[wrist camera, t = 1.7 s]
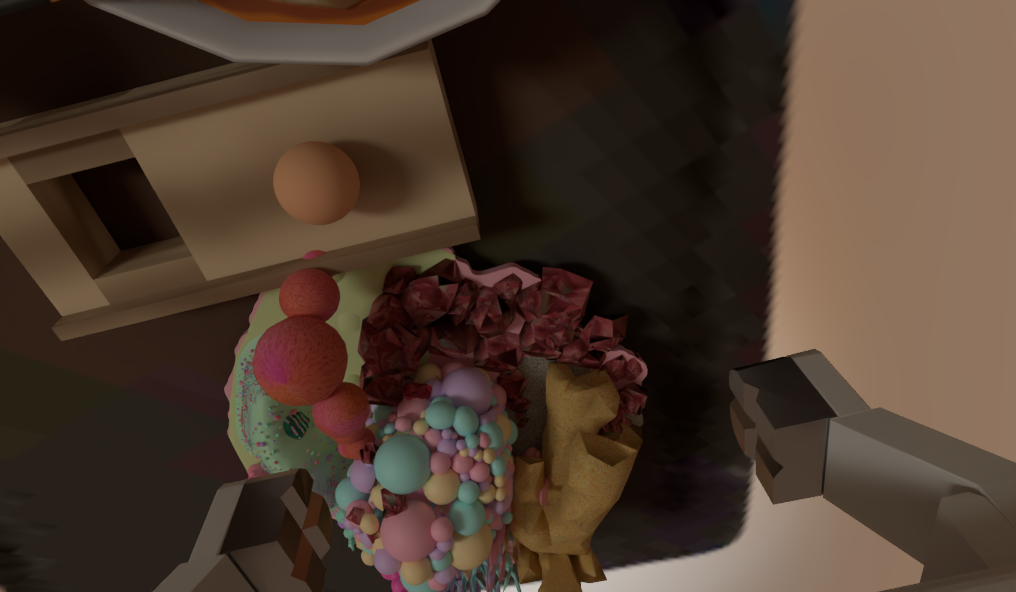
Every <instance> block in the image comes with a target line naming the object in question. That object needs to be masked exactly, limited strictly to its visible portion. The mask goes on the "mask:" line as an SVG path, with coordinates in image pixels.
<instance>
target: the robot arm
mask: <svg viewBox="0 0 1016 592" xmlns="http://www.w3.org/2000/svg"><path fill="white" fill-rule="evenodd" d="M729 387H730V388H731V390H732V392H733V393H734V395H735V398H734V400H733V401H732V402H731V404H730V413H731V421H732V425H733V429H734V433H735V435H736V438H737V440H738V442H739V445H740V446H741V448H742V450H743V452H744V454H745V455H746V456H748V457H750V458H752V459H754V460H755V461H756V475H757V477H758V479H759V480H760V482H761V484H762V486H763V487H764V489H765V491H766V493H767V494H768V496H769V498H770V500H771V501H772V503H773V504H778V503H784V502H789V501H794V500H799V499H804V498H810V497H815V496H821V495H823V498H825V499H826V500H828V501H829V502H831V503H832V504H834V505H835V506H837V507H838V508H840V509H841V510H843V511H844V512H846V513H847V514H849V515H850V516H852V517H853V518H855V519H856V520H858V521H859V522H861V523H862V524H864V525H865V526H867V527H868V528H870V529H871V530H873V531H874V532H876V533H877V534H879V535H880V536H882V537H883V538H885V539H886V540H888V541H889V542H891V543H892V544H894V545H895V546H897V547H898V548H899V549H901V550H902V551H904V552H906V553H907V554H909V555H910V556H911V557H913V558H915V559H916V560H917V561H919V562H920V563H922V564H923V565H924V568H923V572H922V576H921V580H920V583H918V584H913V585H908V586H903V587H899V588H894V589H889V590H885V591H880V592H1016V463H1015V462H1012V461H1010V460H1007V459H1005V458H1002V457H1000V456H997V455H995V454H993V453H990V452H988V451H985V450H983V449H980V448H978V447H975V446H973V445H970V444H968V443H966V442H963V441H961V440H958V439H956V438H953V437H951V436H948V435H946V434H944V433H941V432H939V431H936V430H934V429H931V428H929V427H926V426H924V425H921V424H919V423H917V422H914V421H912V420H909V419H907V418H904V417H902V416H900V415H897V414H895V413H892V412H890V411H887V410H885V409H882V408H876V409H870V407H869V406H868V405H867V404H866V403H865V402H864V400H863V399H862V398H861V397H860V396H859V395H858V394H857V393H856V391H855V390H854V389H853V388H852V387H851V386H850V385H849V384H848V383H847V381H846V380H845V379H844V378H843V377H842V376H841V374H840V373H839V372H838V371H837V370H836V369H835V368H834V367H833V365H832V364H831V363H830V362H829V361H828V360H827V359H826V358H825V356H824V355H823V354H822V353H821V352H820V351H818V350H816V349H812V350H808V351H804V352H800V353H796V354H792V355H788V356H786V357H780V358H776V359H772V360H768V361H764V362H759V363H755V364H751V365H747V366H743V367H738V368H734V369H731V371H730V374H729ZM313 483H314V480H313V478H312V477H311V475H310V474H309V472H308V471H307V469H303V468H298V469H293V470H288V471H283V472H278V473H273V474H268V475H263V476H258V477H254V478H250V479H247V480H242V481H237V482H232V483H227V484H224V485H223V486H221V487H220V488H219V489H218V490H217V492H216V495H215V497H214V500H213V502H212V505H211V507H210V510H209V512H208V515H207V517H206V520H205V522H204V524H203V527H202V529H201V532H200V534H199V537H198V539H197V542H196V544H195V547H194V549H193V552H192V554H191V557H190V559H189V562H187V563H183V564H180V565H179V566H178V567H177V568H176V569H175V570H174V571H173V572H172V573H171V574H170V575H169V576H168V577H167V578H166V579H165V580H164V581H163V582H162V583H161V584H160V585H159V586H158V587H157V588H156V589H155V590H154V591H153V592H322V591H323V585H324V580H325V575H326V568H325V566H324V564H323V563H322V561H321V559H322V557H323V556H324V555H325V553H326V552H327V551H328V550H329V548H330V547H331V541H332V535H333V529H332V516H331V513H330V510H329V506H328V504H327V502H326V501H325V499H324V497H323V496H321V495H319V494H317V493H315V492H313V491H312V487H313Z"/></svg>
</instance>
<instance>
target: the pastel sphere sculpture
mask: <svg viewBox="0 0 1016 592" xmlns="http://www.w3.org/2000/svg"><path fill="white" fill-rule="evenodd" d="M324 253H325V251H321V250H313V251H310V252H308V253H306V254H305V255H304V256H303V257H302V258H304V259H311V258H315V257H318V256H320V255H323V254H324ZM592 284H593V281H591V280H588V279H586V278H583V277H581V276H578V275H575V274H573V273H570V272H568V271H565V270H563V269H558V268H549V267H543V268H542V270H541V272H540V275H538V274H536V273H533V272H531V271H530V270H528V269H526V268H523V267H521V266H519V265H518V264H516V263H507V264H503V265H500V266H497V267H494V268H491V269H487V270H482V271H475V270H473V269H472V268H471V267H470V264H469V262H468V261H467V260H466V259H463V258H460V257H458V256H457V255H456V252H455V251H454V250H453V248H452V247H447V248H443V249H438V250H434V251H430V252H426V253H422V254H418V255H414V256H410V257H406V258H401V259H397V260H393V261H389V262H385V263H381V264H377V265H373V266H368V267H364V268H360V269H356V270H352V271H348V272H344V273H340V274H335V275H331V276H330V275H328V274H327V273H326V272H324V271H321V270H318V269H315V268H308V269H301V270H298V271H297V272H295V273H293V274H291V275H289V276H288V277H287V278H286V279H285V281H284V282H283V283H282V285H281V288H278V289H274V290H270V291H265V292H261V293H260V295H259V298H258V300H257V302H256V303H255V305H254V308H253V311H252V313H251V314H250V316H249V322H250V327H249V329H248V330H247V331H245V333H244V334H243V335H242V337H241V338H240V340H239V343H238V345H237V346H236V348H235V355H236V360H235V366H234V367H233V371H232V373H231V375H230V377H229V379H228V383H227V384H226V386H225V388H224V391H225V394H226V396H227V398H228V400H229V402H230V410H229V412H228V417H229V428H228V430H227V433H228V436H229V438H230V440H231V442H232V444H233V446H234V448H235V450H236V452H237V454H238V456H239V458H240V459H241V461H242V463H243V465H244V467H245V468H246V470H247V472H248V475H249V477H248V479H250V478H254V477H258V476H263V475H268V474H273V473H278V472H283V471H288V470H293V469H298V468H303V469H307V471H308V472H309V474H310V475H311V477H312V478H313V480H314V483H313V487H312V491H313V492H315V493H317V494H319V495H321V496H323V497H324V499H325V501H326V502H327V504H328V506H329V510H330V513H331V516H332V518H333V519H336V520H337V521H338V525H339V526H340V527H341V528H343V529H345V530H344V536H345V537H346V538H349V544H348V546H349V547H351V549H352V551H353V550H354V547H353V546H354V544H357V547H358V548H359V549H362V550H363V551H362V553H361V558H362V561H363V562H364V563H365V564H366V565H375V567H376V569H377V570H378V571H379V572H380V573H381V575H382V576H383V577H384V578H385V579H387V580H392V583H391V587H392V591H393V592H448V591H449V590H450V592H453V590H454V587H455V585H456V586H457V592H466V591H465V589H466V584H467V581H468V580H469V586H470V592H481V590H480V586H481V587H482V588H483V589H485V587H484V586H483V584H482V582H481V581H480V580H479V577H478V576H477V577H476V574H477V573H479V572H481V573H482V577H483V579H485V582H486V589H485V590H486V591H487V592H500V586H499V583H500V582H502V581H503V580H504V576H505V569H506V570H507V571H508V573H507V576H506V578H505V583H504V589H503V592H504V590H505V588H506V586H507V584H508V582H509V579H510V575H511V576H512V577H513V578H514V580H515V583H516V587H517V591H518V592H521V589H520V585H519V581H518V578H517V575H518V577H519V579H520V584H523V583H528V582H534V581H539V580H542V579H543V581H542V584H541V586H540V588H539V590H538V592H582V589H581V582H586V583H593V582H599V581H604V580H607V579H606V577H605V574H604V572H603V570H602V568H601V565H600V563H599V561H598V560H597V558H596V556H595V554H594V552H593V551H592V549H591V547H590V542H591V537H592V535H593V533H594V531H595V529H596V528H597V526H598V525H599V524H600V522H601V521H602V520H603V518H604V517H605V516H606V514H607V513H608V512H609V511H610V509H611V508H612V507H613V505H614V504H615V503H616V502H617V501H618V500H619V498H620V496H621V493H622V491H623V489H624V486H625V484H626V481H627V479H628V477H629V474H630V472H631V470H632V467H633V464H634V461H635V458H636V456H637V454H638V452H639V450H640V447H641V445H642V443H643V435H642V427H641V426H642V424H643V416H642V409H644V407H645V403H646V399H647V391H648V390H647V389H646V388H644V387H642V386H641V384H642V381H643V379H644V378H645V377H646V376H647V366H646V364H645V363H644V361H643V359H642V358H641V356H640V355H639V354H638V352H637V353H633V352H632V351H630V350H628V349H626V348H624V347H623V346H621V345H617V344H618V343H620V342H621V341H622V340H623V339H624V338H625V333H626V326H627V319H628V314H616V315H594V316H593V318H592V319H591V320H590V321H589V323H588V324H587V325H586V326H585V328H583V326H582V325H581V324H580V323H581V321H582V320H583V319H584V318H585V308H586V305H587V301H588V298H589V294H590V291H591V287H592ZM245 480H247V479H245ZM514 563H516V564H517V568H518V572H517V575H516V574H515V572H514V571H513V570H512V567H513V564H514ZM495 573H497V575H498V577H499V580H498V582H497V585H495V586H494V581H495ZM498 573H499V574H498ZM460 575H461V576H460ZM457 578H458V579H459V581H457Z"/></svg>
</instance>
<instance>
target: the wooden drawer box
mask: <svg viewBox="0 0 1016 592" xmlns="http://www.w3.org/2000/svg"><path fill="white" fill-rule="evenodd" d="M308 141H319V142H325V143H328V144H331V145H333V146H336V147H337V148H339V149H341V150H342V151H343V152H344V153H345V154H346V155H347V156H348V157H349V158H350V159H351V160H352V162H353V163H354V165H355V167H356V169H357V172H358V175H359V181H360V189H359V195H358V199H357V201H356V203H355V205H354V207H353V208H352V210H351V211H350V212H349V213H348V214H347V215H346V216H345V217H343V218H342V219H340V220H338V221H336V222H334V223H331V224H326V225H311V224H307V223H303V222H301V221H299V220H297V219H295V218H294V217H292V216H291V215H290V214H288V213H287V212H286V211H285V210H284V209H283V207H282V206H281V205H280V203H279V201H278V199H277V197H276V194H275V191H274V185H273V177H274V171H275V168H276V165H277V163H278V161H279V159H280V158H281V157H282V155H283V154H284V153H285V152H286V151H288V150H289V149H290V148H292V147H293V146H296V145H298V144H300V143H303V142H308ZM133 157H135V158H136V159H137V161H138V163H139V165H140V166H141V168H142V170H143V171H144V173H145V175H146V177H147V178H148V180H149V182H150V183H151V185H152V187H153V189H154V190H155V192H156V194H157V196H158V197H159V199H160V201H161V202H162V204H163V206H164V208H165V209H166V211H167V213H168V214H169V216H170V218H171V220H172V221H173V223H174V225H175V226H176V228H177V230H178V232H179V233H180V235H181V236H178V237H174V238H170V239H166V240H162V241H158V242H154V243H150V244H146V245H142V246H138V247H134V248H130V249H126V250H122V251H121V250H120V249H119V247H118V246H117V244H116V243H115V241H114V240H113V238H112V236H111V235H110V233H109V232H108V230H107V229H106V227H105V226H104V224H103V223H102V221H101V220H100V218H99V217H98V215H97V213H96V212H95V210H94V209H93V207H92V206H91V204H90V203H89V201H88V200H87V198H86V197H85V195H84V194H83V192H82V190H81V189H80V187H79V186H78V184H77V183H76V181H75V180H74V178H73V177H72V175H71V174H70V173H74V172H78V171H82V170H86V169H90V168H94V167H98V166H102V165H106V164H110V163H114V162H118V161H122V160H125V159H129V158H133ZM0 235H1V237H2V238H3V239H4V241H5V242H6V243H7V245H8V246H9V247H10V249H11V250H12V251H13V253H14V254H15V255H16V256H17V258H18V259H19V260H20V262H21V263H22V264H23V266H24V267H25V268H26V270H27V271H28V272H29V273H30V275H31V276H32V277H33V279H34V280H35V281H36V283H37V284H38V285H39V287H40V288H41V289H42V290H43V292H44V293H45V294H46V296H47V297H48V298H49V300H50V301H51V302H52V304H53V305H54V306H55V307H56V309H57V310H58V311H59V313H60V314H61V315H62V317H61V318H60V319H59V320H58V322H57V323H56V324H55V325H54V326H53V327H52V329H53V331H54V332H55V333H56V335H57V336H58V337H59V338H60V340H61V341H64V340H68V339H72V338H76V337H80V336H84V335H88V334H92V333H97V332H101V331H105V330H109V329H113V328H117V327H121V326H125V325H130V324H134V323H138V322H142V321H146V320H150V319H154V318H158V317H163V316H167V315H171V314H175V313H179V312H183V311H187V310H191V309H195V308H200V307H204V306H208V305H212V304H216V303H220V302H224V301H228V300H233V299H237V298H241V297H245V296H249V295H253V294H257V293H261V292H265V291H270V290H274V289H278V288H281V285H282V283H283V282H284V281H285V279H286V278H287V277H288V276H289V275H291V274H293V273H295V272H297V271H298V270H301V269H308V268H315V269H318V270H321V271H324V272H326V273H327V274H328V275H330V276H331V275H335V274H340V273H344V272H348V271H352V270H356V269H360V268H364V267H368V266H373V265H377V264H381V263H385V262H389V261H393V260H397V259H401V258H406V257H410V256H414V255H418V254H422V253H426V252H430V251H434V250H438V249H443V248H447V247H451V246H455V245H459V244H463V243H467V242H471V241H476V240H480V239H481V237H480V229H479V221H478V212H477V204H476V201H475V197H474V193H473V190H472V186H471V182H470V179H469V175H468V171H467V168H466V164H465V160H464V157H463V153H462V149H461V146H460V142H459V139H458V135H457V131H456V128H455V124H454V120H453V117H452V113H451V109H450V106H449V102H448V98H447V95H446V91H445V87H444V84H443V80H442V76H441V73H440V69H439V65H438V62H437V58H436V54H435V51H434V47H433V43H432V40H431V39H429V40H427V41H424V42H422V43H420V44H418V45H415V46H413V47H411V48H408V49H406V50H404V51H401V52H399V53H397V54H394V55H392V56H390V57H387V58H385V59H383V60H380V61H378V62H376V63H373V64H371V65H369V66H351V65H315V64H279V63H243V62H234V63H230V64H226V65H223V66H219V67H215V68H211V69H207V70H203V71H199V72H196V73H192V74H188V75H184V76H180V77H176V78H172V79H169V80H165V81H161V82H157V83H153V84H149V85H145V86H142V87H138V88H134V89H130V90H126V91H122V92H118V93H115V94H111V95H107V96H103V97H99V98H95V99H91V100H88V101H84V102H80V103H76V104H72V105H68V106H64V107H61V108H57V109H53V110H49V111H45V112H41V113H37V114H34V115H30V116H26V117H22V118H18V119H14V120H10V121H7V122H3V123H0ZM313 250H321V251H325V253H324V254H323V255H320V256H318V257H315V258H311V259H304V258H302V257H303V256H304V255H305V254H306V253H308V252H310V251H313Z"/></svg>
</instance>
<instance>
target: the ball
mask: <svg viewBox="0 0 1016 592" xmlns="http://www.w3.org/2000/svg"><path fill="white" fill-rule="evenodd" d="M273 185H274V191H275V194H276V197H277V199H278V201H279V203H280V205H281V206H282V207H283V209H284V210H285V211H286V212H287V213H288V214H290V215H291V216H292V217H294V218H295V219H297V220H299V221H301V222H303V223H307V224H311V225H326V224H331V223H334V222H336V221H338V220H340V219H342V218H343V217H345V216H346V215H347V214H348V213H349V212H350V211H351V210H352V208H353V207H354V205H355V203H356V201H357V199H358V195H359V189H360V181H359V175H358V172H357V169H356V167H355V165H354V163H353V162H352V160H351V159H350V158H349V157H348V156H347V155H346V154H345V153H344V152H343V151H342V150H341V149H339V148H337V147H336V146H333V145H331V144H328V143H325V142H319V141H308V142H303V143H300V144H298V145H296V146H293V147H292V148H290V149H289V150H288V151H286V152H285V153H284V154H283V155H282V157H281V158H280V159H279V161H278V163H277V165H276V168H275V171H274V177H273Z"/></svg>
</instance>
